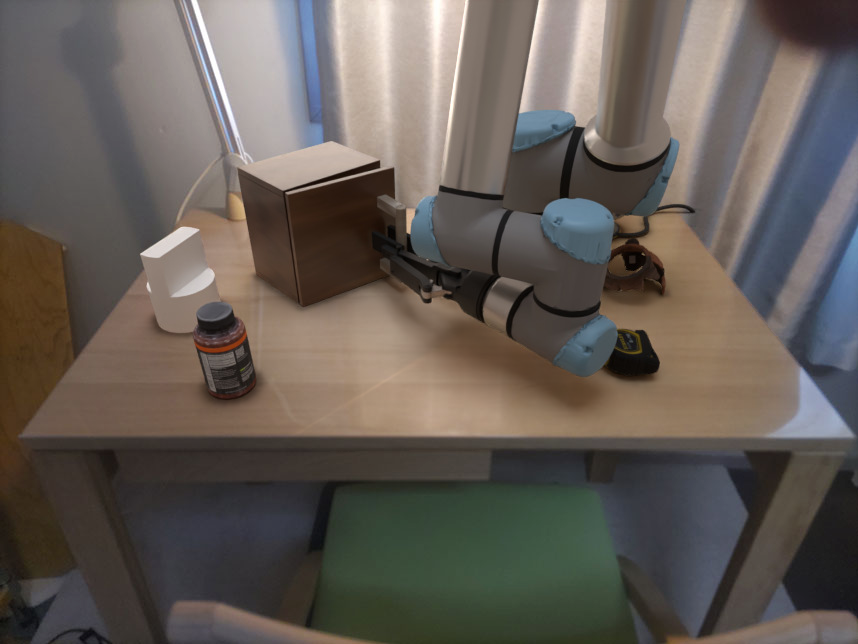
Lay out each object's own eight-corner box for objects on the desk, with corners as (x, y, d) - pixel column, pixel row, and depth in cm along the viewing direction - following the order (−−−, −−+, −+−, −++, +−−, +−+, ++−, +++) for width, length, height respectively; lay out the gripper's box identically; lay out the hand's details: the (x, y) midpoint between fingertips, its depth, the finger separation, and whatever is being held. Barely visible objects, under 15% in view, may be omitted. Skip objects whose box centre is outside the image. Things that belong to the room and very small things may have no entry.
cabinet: (384, 265, 100) (380, 159, 90) (298, 304, 90) (282, 190, 80) (340, 241, 107) (331, 140, 97) (256, 274, 97) (236, 167, 87)
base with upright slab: (197, 338, 83) (177, 262, 76) (143, 326, 85) (119, 251, 78) (234, 305, 90) (219, 232, 83) (184, 294, 92) (165, 222, 85)
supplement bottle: (216, 369, 78) (197, 294, 71) (262, 370, 77) (247, 296, 71) (200, 400, 73) (178, 324, 66) (249, 402, 73) (232, 325, 66)
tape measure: (657, 382, 76) (664, 359, 74) (602, 380, 76) (607, 357, 74) (643, 349, 82) (649, 326, 80) (593, 347, 82) (597, 325, 80)
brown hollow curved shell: (675, 307, 91) (663, 272, 85) (612, 323, 95) (597, 290, 89) (661, 253, 99) (649, 217, 93) (603, 269, 102) (589, 236, 97)
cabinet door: (418, 287, 94) (418, 179, 84) (321, 325, 85) (308, 209, 75) (394, 270, 98) (390, 165, 88) (299, 304, 90) (284, 192, 80)
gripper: (456, 346, 75) (342, 275, 89) (534, 300, 83) (419, 242, 97) (458, 296, 70) (338, 229, 84) (540, 253, 79) (419, 199, 93)
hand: (381, 236), depth 91 cm, fingers open, 2 cm apart
